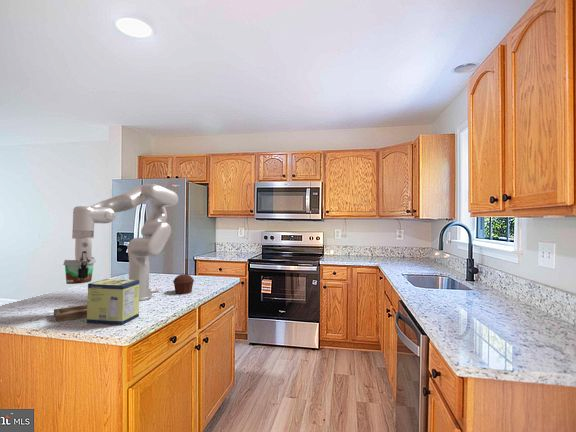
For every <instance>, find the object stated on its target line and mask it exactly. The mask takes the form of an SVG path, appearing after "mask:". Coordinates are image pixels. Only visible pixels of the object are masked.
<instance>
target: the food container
mask: <svg viewBox="0 0 576 432" xmlns="http://www.w3.org/2000/svg"><path fill="white" fill-rule="evenodd" d="M87 261H88V277H87V278H78V269H79V265H80V263H81V264H82V263H83V260H80V262H78V260H75V259H64V261H63V264H62V265H63V266H64V270H65V282H66V284H67V285H76V284H78V285H79V284H85V283H91V282H92V279H93V272H94V264H95V263H96V259H95V257H94V256H92V260H91V261H90V260H88V259H87Z"/></svg>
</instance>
